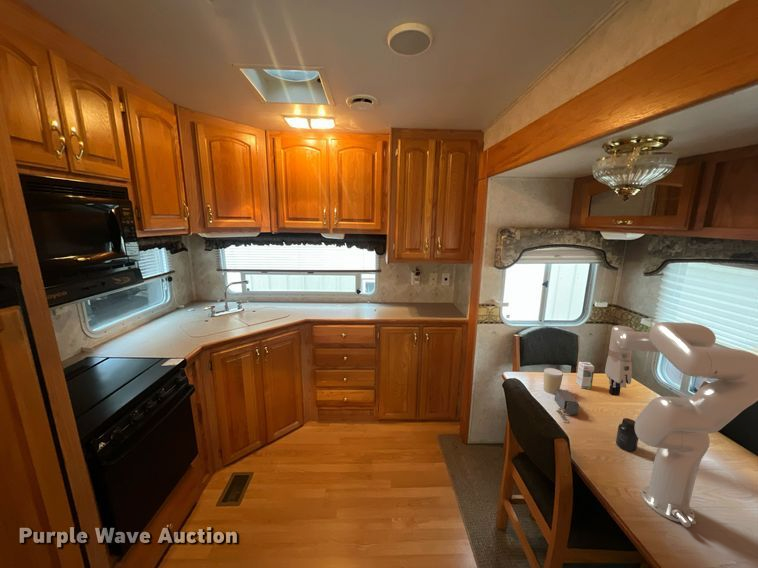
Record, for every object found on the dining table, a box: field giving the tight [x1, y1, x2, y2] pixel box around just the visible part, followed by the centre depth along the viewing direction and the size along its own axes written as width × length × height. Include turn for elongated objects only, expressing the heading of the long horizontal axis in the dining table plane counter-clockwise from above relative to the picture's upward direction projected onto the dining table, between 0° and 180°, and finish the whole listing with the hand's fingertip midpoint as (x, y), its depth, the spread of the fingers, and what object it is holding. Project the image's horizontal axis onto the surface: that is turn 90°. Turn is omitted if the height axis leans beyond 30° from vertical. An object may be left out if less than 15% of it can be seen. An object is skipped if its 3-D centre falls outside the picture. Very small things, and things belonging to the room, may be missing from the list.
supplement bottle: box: [615, 417, 640, 453], centre depth 121 cm, size 7×7×12 cm
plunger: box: [557, 402, 580, 416], centre depth 148 cm, size 11×8×6 cm
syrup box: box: [575, 361, 595, 390], centre depth 169 cm, size 6×6×14 cm
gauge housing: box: [554, 389, 579, 424], centre depth 146 cm, size 20×9×6 cm, turn 169°
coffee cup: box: [543, 367, 564, 395], centre depth 164 cm, size 9×9×12 cm
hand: (614, 394), depth 125 cm, fingers closed
